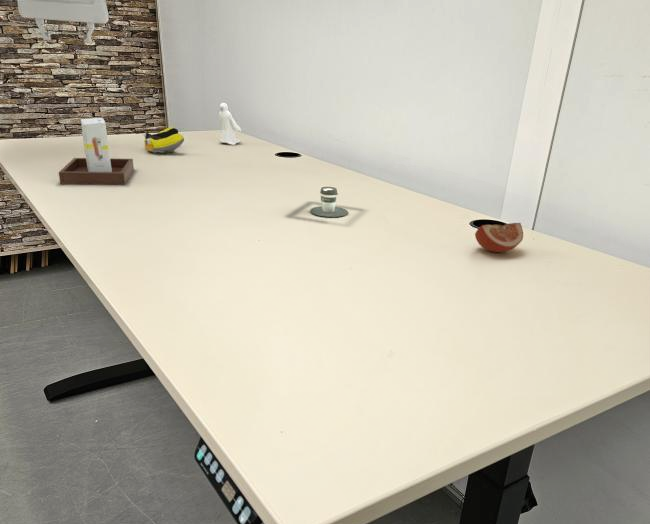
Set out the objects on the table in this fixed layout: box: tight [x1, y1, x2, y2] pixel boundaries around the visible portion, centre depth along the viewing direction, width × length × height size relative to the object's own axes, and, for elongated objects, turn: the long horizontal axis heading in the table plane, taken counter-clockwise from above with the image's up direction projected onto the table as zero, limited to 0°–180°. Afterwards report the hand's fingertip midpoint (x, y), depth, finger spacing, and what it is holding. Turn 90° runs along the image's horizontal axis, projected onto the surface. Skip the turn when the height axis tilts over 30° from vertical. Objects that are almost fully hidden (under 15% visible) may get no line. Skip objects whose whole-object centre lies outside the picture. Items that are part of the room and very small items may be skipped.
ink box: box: [80, 117, 112, 172], centre depth 134 cm, size 9×5×12 cm, turn 24°
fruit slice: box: [474, 222, 524, 253], centre depth 102 cm, size 8×7×5 cm
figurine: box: [218, 102, 243, 146], centre depth 181 cm, size 8×8×12 cm
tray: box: [58, 157, 135, 186], centre depth 136 cm, size 14×16×3 cm
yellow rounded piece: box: [142, 126, 185, 154], centre depth 167 cm, size 15×6×10 cm
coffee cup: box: [309, 186, 349, 218], centre depth 118 cm, size 12×12×5 cm
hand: (67, 41), depth 147 cm, fingers open, 8 cm apart
